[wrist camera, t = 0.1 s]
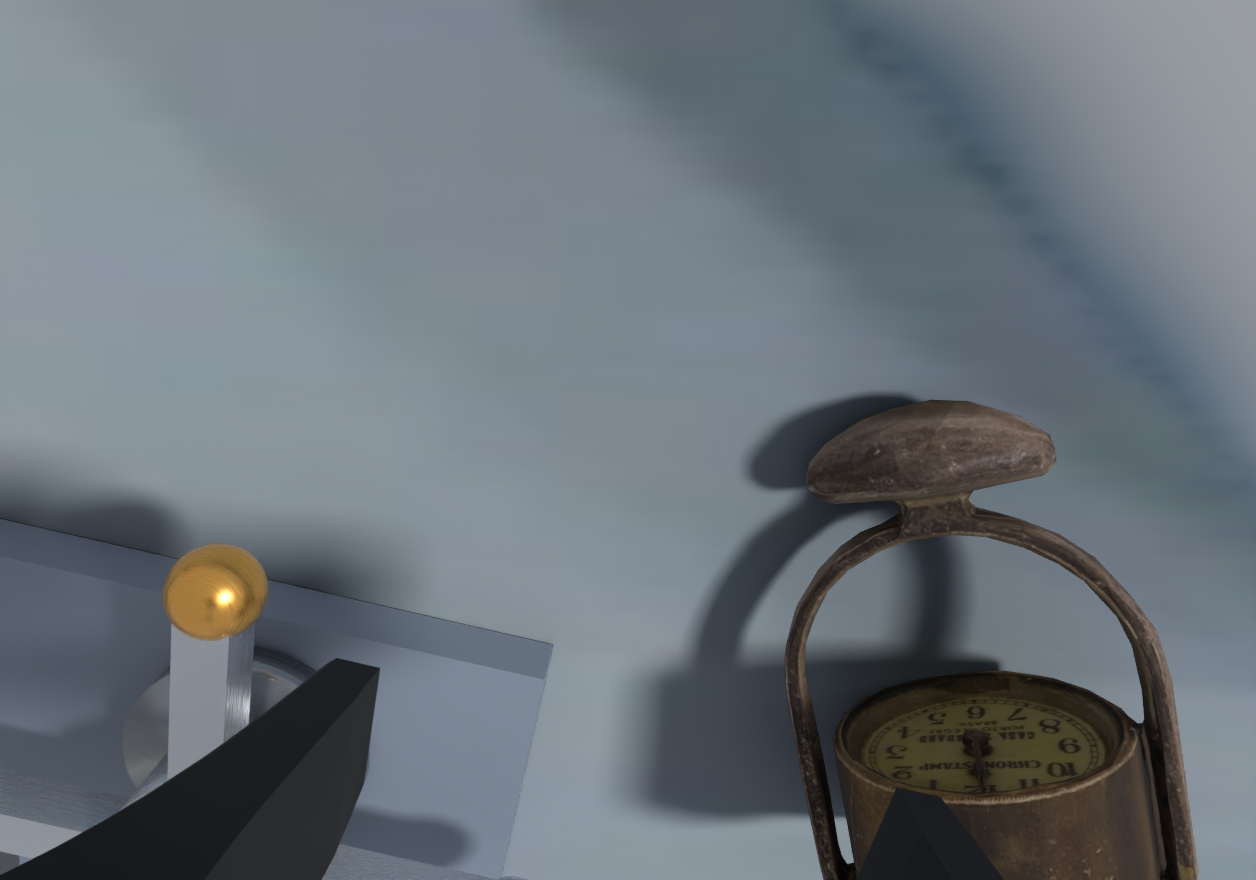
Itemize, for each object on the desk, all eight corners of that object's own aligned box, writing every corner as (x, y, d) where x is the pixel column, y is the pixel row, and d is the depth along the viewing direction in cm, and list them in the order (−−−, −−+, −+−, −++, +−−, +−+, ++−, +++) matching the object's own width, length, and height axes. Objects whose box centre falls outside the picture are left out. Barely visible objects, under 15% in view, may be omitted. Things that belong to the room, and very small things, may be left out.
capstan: (512, 1049, 26) (485, 1186, 23) (-37, 928, 26) (-143, 1049, 23) (632, 578, 20) (620, 672, 17) (-86, 414, 20) (-243, 476, 17)
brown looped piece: (685, 977, 20) (1159, 1155, 18) (794, 498, 14) (1523, 676, 12) (743, 750, 26) (1098, 861, 24) (835, 354, 20) (1316, 453, 18)
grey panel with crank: (468, 1026, 29) (437, 1152, 25) (-67, 908, 28) (-171, 1019, 25) (553, 644, 23) (528, 739, 20) (-114, 492, 23) (-258, 562, 19)
